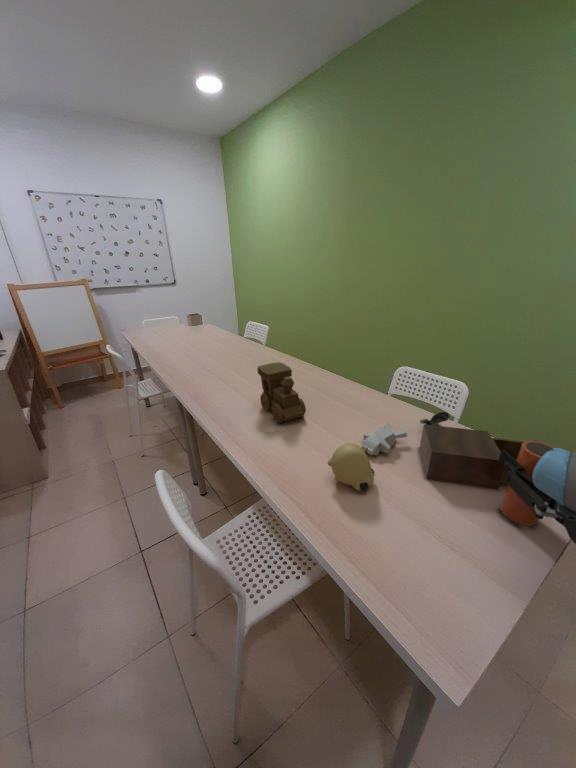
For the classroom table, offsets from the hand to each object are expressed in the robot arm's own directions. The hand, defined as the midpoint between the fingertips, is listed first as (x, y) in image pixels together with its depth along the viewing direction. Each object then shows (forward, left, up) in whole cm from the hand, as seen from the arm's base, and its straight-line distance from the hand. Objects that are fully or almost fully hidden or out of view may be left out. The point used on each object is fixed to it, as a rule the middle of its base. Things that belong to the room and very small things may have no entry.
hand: (519, 455), depth 67 cm
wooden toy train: (+64, -30, -13) cm, 72 cm away
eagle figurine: (+11, -29, -13) cm, 34 cm away
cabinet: (+9, -10, -13) cm, 18 cm away
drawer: (-5, -10, -12) cm, 16 cm away
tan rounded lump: (+36, +2, -13) cm, 38 cm away
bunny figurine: (+28, -16, -13) cm, 35 cm away
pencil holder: (-1, +5, -12) cm, 13 cm away
